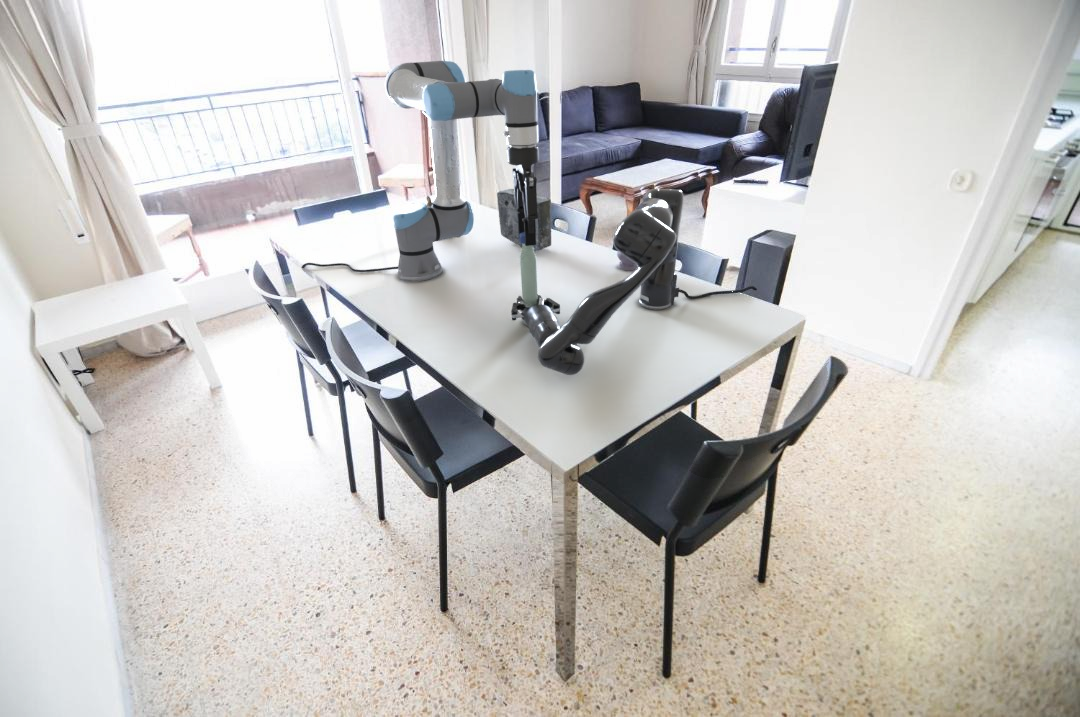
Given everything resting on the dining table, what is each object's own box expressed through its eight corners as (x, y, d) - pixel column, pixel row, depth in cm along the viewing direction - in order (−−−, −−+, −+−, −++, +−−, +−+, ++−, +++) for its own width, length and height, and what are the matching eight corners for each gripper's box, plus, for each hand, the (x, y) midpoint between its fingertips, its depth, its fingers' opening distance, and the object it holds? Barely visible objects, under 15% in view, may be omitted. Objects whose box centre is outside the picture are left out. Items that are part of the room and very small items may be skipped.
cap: (536, 242, 128) (536, 235, 127) (521, 244, 127) (521, 236, 126) (532, 238, 131) (532, 230, 130) (518, 240, 130) (517, 232, 129)
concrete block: (556, 252, 190) (555, 199, 179) (537, 257, 186) (535, 203, 175) (517, 236, 209) (515, 187, 198) (500, 240, 204) (496, 190, 194)
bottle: (534, 326, 139) (530, 240, 126) (521, 323, 141) (516, 238, 128) (541, 320, 142) (537, 235, 129) (527, 317, 144) (523, 233, 131)
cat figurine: (645, 266, 174) (647, 232, 168) (632, 273, 170) (634, 238, 163) (624, 261, 180) (626, 228, 173) (611, 267, 175) (613, 233, 168)
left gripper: (498, 141, 124) (504, 232, 136) (517, 152, 109) (522, 254, 121) (527, 139, 126) (531, 229, 138) (549, 150, 110) (551, 250, 122)
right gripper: (569, 307, 126) (551, 282, 140) (514, 315, 123) (502, 289, 137) (569, 333, 130) (552, 306, 144) (516, 341, 127) (504, 313, 141)
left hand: (527, 241), depth 129 cm, fingers open, 6 cm apart
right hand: (527, 298), depth 141 cm, fingers closed on bottle, 4 cm apart
